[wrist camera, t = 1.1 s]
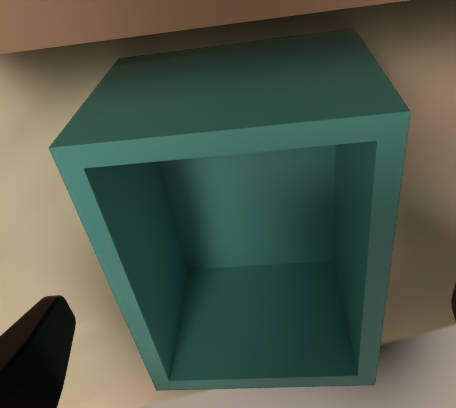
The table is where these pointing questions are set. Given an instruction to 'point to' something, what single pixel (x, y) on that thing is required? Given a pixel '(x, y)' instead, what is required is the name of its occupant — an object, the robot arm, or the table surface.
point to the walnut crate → (137, 18)
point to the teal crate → (244, 207)
